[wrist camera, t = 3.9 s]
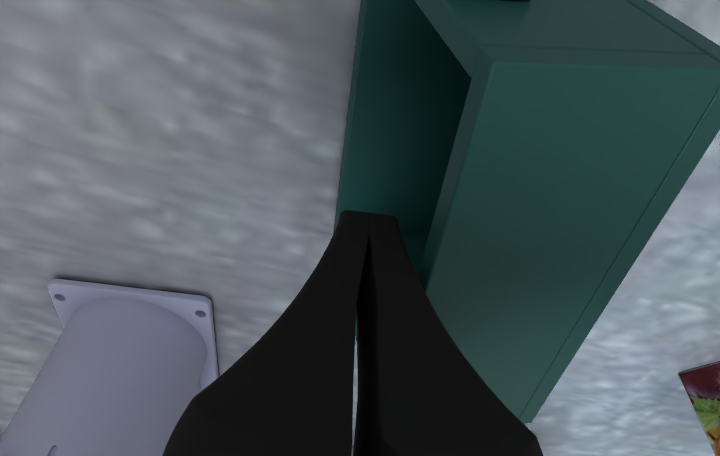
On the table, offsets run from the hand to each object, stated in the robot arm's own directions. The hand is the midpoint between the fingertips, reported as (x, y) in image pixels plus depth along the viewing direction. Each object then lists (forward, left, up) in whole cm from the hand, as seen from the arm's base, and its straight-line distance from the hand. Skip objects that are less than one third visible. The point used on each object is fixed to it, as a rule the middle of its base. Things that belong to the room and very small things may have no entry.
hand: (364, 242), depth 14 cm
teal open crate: (0, -1, -7) cm, 7 cm away
